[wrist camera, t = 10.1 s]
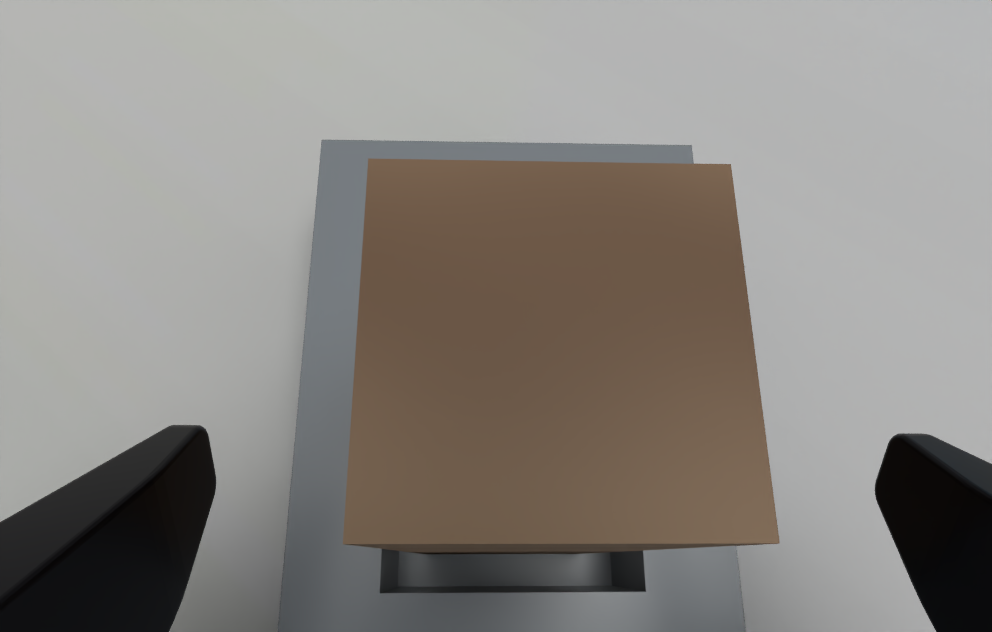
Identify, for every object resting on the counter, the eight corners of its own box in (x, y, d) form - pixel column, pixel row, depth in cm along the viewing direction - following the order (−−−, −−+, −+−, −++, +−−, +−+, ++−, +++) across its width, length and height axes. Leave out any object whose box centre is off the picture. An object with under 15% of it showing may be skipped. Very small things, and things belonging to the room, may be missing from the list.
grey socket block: (699, 813, 17) (775, 897, 13) (308, 820, 17) (252, 908, 13) (649, 223, 22) (691, 145, 18) (350, 220, 22) (321, 139, 18)
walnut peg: (580, 553, 18) (778, 542, 6) (426, 554, 18) (342, 543, 6) (574, 402, 20) (731, 163, 8) (430, 402, 19) (368, 158, 8)
